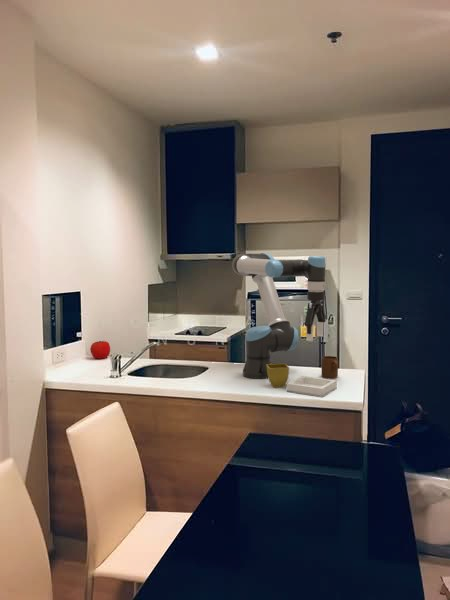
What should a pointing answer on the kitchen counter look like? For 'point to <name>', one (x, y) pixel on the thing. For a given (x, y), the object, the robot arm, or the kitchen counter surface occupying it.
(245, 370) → the robot arm
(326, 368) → the mug
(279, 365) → the flower pot
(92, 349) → the tomato
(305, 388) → the white square tray
